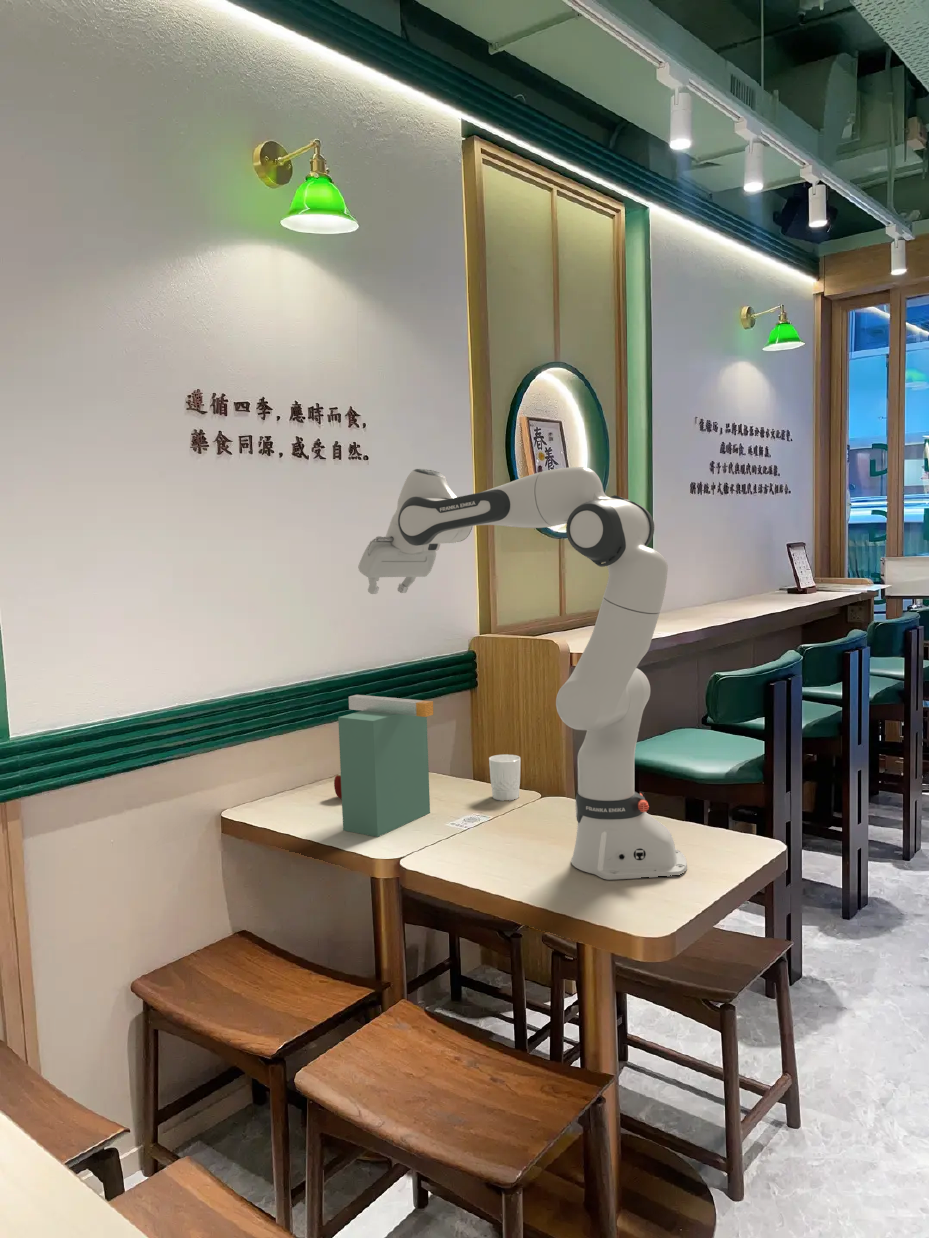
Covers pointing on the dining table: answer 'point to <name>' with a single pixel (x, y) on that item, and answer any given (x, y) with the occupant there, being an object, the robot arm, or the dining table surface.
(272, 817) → the dining table surface
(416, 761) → the green box
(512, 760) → the white cup
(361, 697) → the lever bar
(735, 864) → the dining table surface
